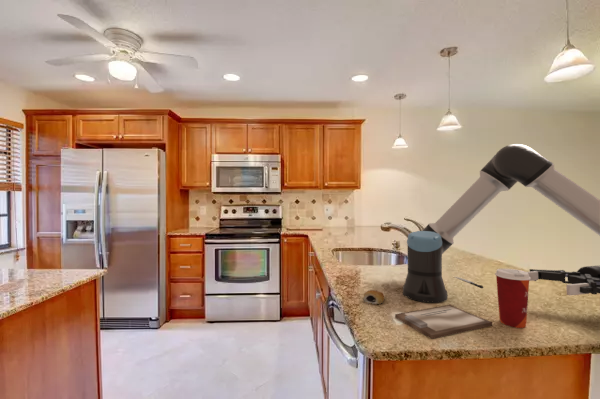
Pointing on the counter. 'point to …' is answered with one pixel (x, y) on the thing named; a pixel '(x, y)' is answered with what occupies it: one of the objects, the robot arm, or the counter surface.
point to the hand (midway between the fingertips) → (541, 282)
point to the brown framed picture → (442, 321)
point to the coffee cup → (512, 296)
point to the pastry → (373, 297)
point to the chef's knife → (470, 282)
